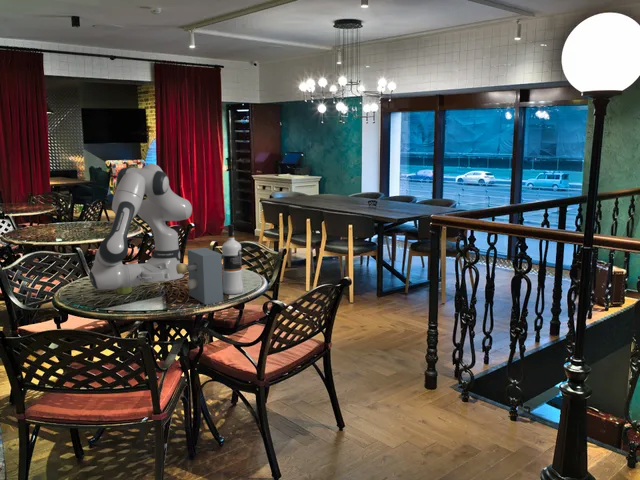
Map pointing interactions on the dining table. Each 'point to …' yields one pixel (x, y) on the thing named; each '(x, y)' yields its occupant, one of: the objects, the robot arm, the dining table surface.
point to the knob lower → (192, 283)
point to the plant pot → (124, 290)
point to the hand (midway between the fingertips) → (168, 270)
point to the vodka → (232, 265)
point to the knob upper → (184, 268)
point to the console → (206, 275)
